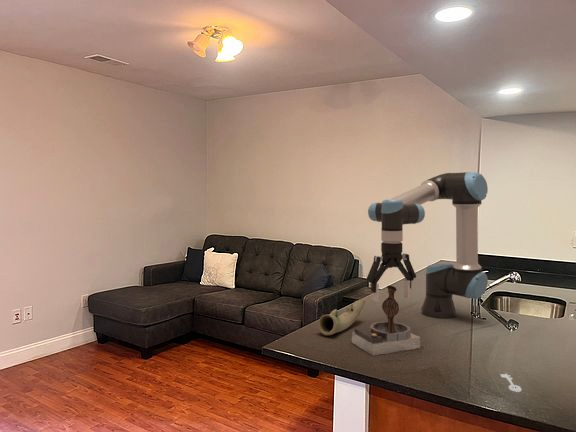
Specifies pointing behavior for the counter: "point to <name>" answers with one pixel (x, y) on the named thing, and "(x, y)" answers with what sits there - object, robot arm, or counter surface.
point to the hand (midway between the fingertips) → (391, 299)
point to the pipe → (340, 319)
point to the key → (511, 383)
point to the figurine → (390, 308)
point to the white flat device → (385, 338)
